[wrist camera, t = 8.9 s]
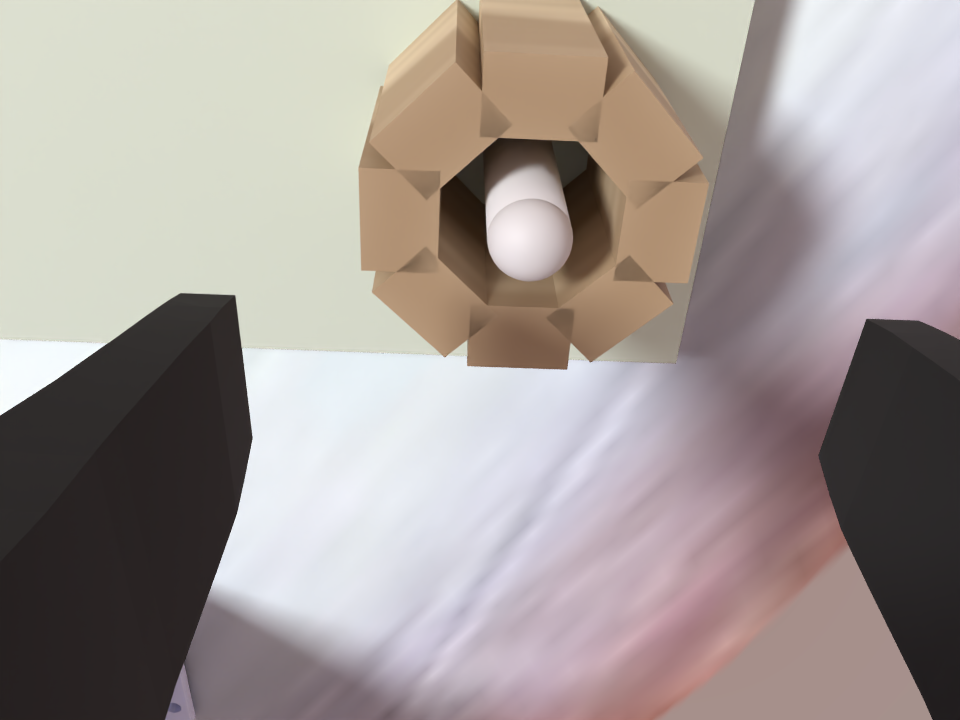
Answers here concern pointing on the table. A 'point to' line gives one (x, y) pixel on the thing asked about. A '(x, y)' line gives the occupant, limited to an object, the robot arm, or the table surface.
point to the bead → (589, 197)
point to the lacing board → (277, 162)
